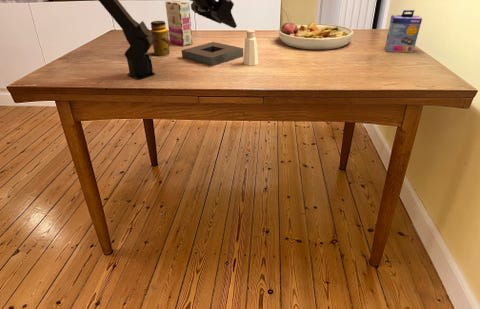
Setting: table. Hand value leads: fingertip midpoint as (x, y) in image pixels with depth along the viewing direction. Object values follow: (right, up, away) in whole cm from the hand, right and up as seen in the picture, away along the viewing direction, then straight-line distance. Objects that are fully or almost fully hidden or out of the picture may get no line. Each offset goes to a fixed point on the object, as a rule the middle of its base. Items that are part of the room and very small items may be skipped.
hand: (228, 24), depth 107 cm
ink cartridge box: (+64, -2, +20) cm, 67 cm away
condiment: (-27, -3, +22) cm, 35 cm away
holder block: (-6, -6, +17) cm, 19 cm away
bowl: (+35, +5, +34) cm, 49 cm away
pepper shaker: (+7, -10, +10) cm, 16 cm away
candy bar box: (-22, +6, +37) cm, 43 cm away
